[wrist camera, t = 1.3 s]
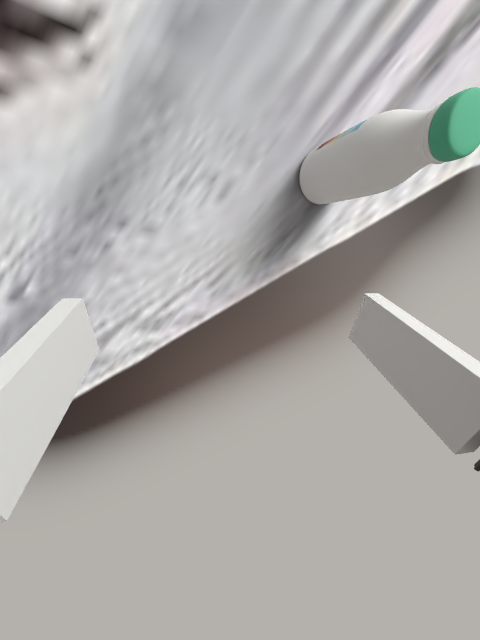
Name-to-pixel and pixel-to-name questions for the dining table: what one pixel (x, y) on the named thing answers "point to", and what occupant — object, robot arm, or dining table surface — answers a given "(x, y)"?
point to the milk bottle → (391, 149)
